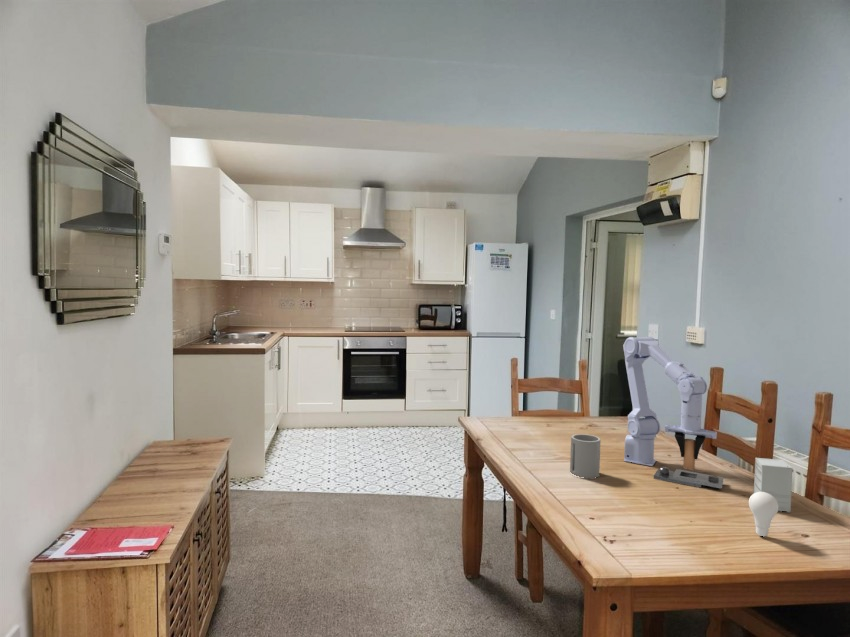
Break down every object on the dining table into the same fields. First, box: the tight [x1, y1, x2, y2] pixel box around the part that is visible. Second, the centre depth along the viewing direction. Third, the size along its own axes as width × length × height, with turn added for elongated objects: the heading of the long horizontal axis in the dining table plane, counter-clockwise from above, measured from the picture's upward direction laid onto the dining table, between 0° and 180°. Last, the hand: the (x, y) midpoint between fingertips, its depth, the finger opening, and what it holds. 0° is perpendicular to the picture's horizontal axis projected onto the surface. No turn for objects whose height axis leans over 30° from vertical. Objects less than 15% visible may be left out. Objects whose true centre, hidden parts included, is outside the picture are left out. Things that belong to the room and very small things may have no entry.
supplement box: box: [753, 457, 793, 513], centre depth 147 cm, size 7×7×13 cm
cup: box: [569, 433, 601, 479], centre depth 171 cm, size 9×9×12 cm
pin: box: [682, 438, 696, 471], centre depth 165 cm, size 3×3×9 cm
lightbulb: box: [748, 492, 779, 538], centre depth 128 cm, size 6×6×11 cm
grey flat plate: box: [653, 466, 724, 489], centre depth 166 cm, size 19×8×3 cm, turn 57°
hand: (689, 457), depth 165 cm, fingers closed on pin, 3 cm apart
